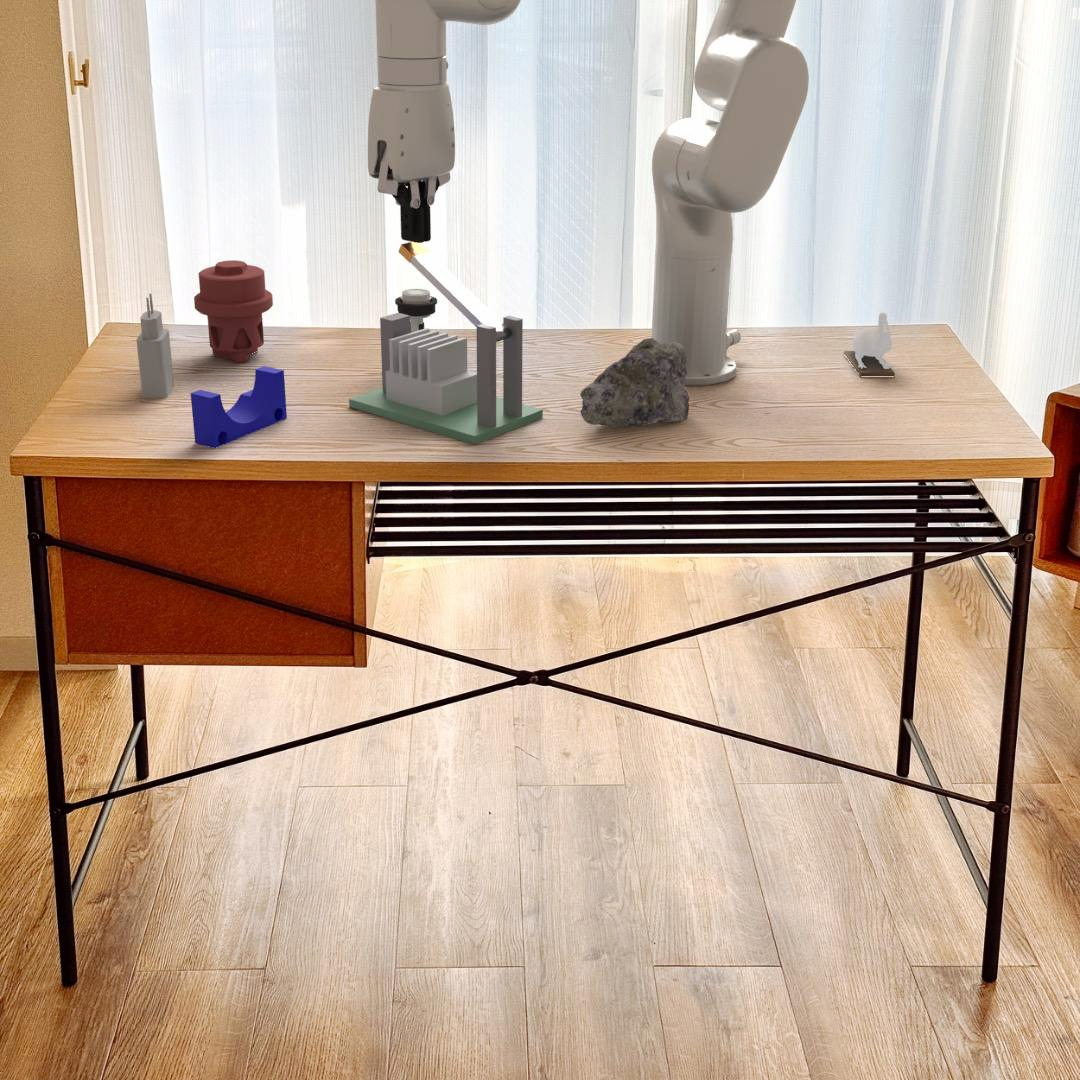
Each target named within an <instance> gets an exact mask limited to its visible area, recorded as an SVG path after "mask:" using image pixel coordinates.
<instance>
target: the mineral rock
mask: <svg viewBox="0 0 1080 1080" xmlns="http://www.w3.org/2000/svg"><path fill="white" fill-rule="evenodd" d="M686 362H687V354H686V351H685V349H684V347H683V346H682V345H681V344H679V343H676V342H671V343H665V344H660V343H658V342H657V341H655V340H654V339H653V338H652V337H651V338H649V337H648V338H644V339H642V340H641V341H640V342H638V343H637V344H634V345H633V346H632V348H631V349H630V351H629V352H627V354H626V355H625V356H624V357H622V358H620V359H619V360H618V361H615V362H613V363H611V364H610V365H609V366H608V367H606V368H605V369H604V371H603V372H601V373H600V374H599V375H598V376H597V377H596V378H595V379H594V380H593V382H592V383H588V385H587V386H585V387H584V388H583V389H582V390H581V391H580V397H581V399H582V403H581V404H582V407H581V410H580V416H581V417H582V419H583V421H585V423H587V424H589V425H593V426H594V425H595V426H596V425H597V426H598V425H599V426H602V427H603V426H606V427H618V428H628V427H638V426H639V427H640V426H643V425H644V426H645V425H649V424H656V423H664V422H672V423H673V422H682V421H684V420H687V419H688V417H689V411H690V403H689V402H690V396H689V395H690V394H689V391H688V390H687V388H686V385H685V377H686V375H687V370H686Z"/></svg>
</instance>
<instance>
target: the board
mask: <svg viewBox="0 0 1080 1080" xmlns="http://www.w3.org/2000/svg"><path fill="white" fill-rule="evenodd" d="M523 322H524V321H523V318H520V317H516V316H511V315H507V316H504V317H502V323H503V324H504V325H505V326H506V327H507V328H510V330H511V331H512V336H511V337H510V338H507V339H504V340H502V348H503V352H502V353H503V355H502V357H503V358H502V359H503V363H502V364H503V366H502V369H503V370H502V371H503V377H502V378H503V380H502V383H503V384H502V389H503V392H502V394H503V395H502V396H503V398H502V397H498V396H497V342H496V327H493V326H489V325H484V324H481V325H478V326H475V328H476V372H473V371H470V370H468V338H467V337H461V338H458V335H456V334H453V335H450V336H449V332H448V333H447V332H443V333H440V331H439V330H433V331H430V328H427V327H426V328H425V327H424V329H422V330H419V331H415V332H412V333H410V316H409V315H405V314H401V313H399V312H395V313H392V314H388V315H385V316H382V317H380V318H379V324H380V327H379V328H380V329H379V330H380V351H381V352H380V354H381V355H380V356H381V380H382V381H381V382H382V383H381V384H382V385H381V386H382V387H380V388H377V389H374V390H371V391H369V392H365V393H362V394H360V395H356V396H353V397H350V398H349V399H348V405H349V408H351V409H356V410H358V411H362V412H366V413H369V414H372V415H375V416H379V417H381V418H385V419H388V420H392V421H395V422H398V423H402V424H405V425H408V426H411V427H415V428H417V429H418V428H419V429H422V430H425V431H428V432H432V433H435V434H439V435H442V436H445V437H449V438H452V439H455V440H458V441H462V442H465V443H468V444H471V445H478V444H480V443H483V442H485V441H488V440H491V439H493V438H495V437H498V436H500V435H503V434H505V433H508V432H510V431H513V430H516V429H518V428H520V427H521V428H522V426H525V425H528V424H530V423H532V422H535V421H538V420H540V419H543V416H544V414H543V413H544V410H543V409H542V408H538V407H534V406H530V405H528V404H524V403H523V332H524V331H523V330H524V329H523Z"/></svg>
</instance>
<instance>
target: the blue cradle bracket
mask: <svg viewBox="0 0 1080 1080" xmlns="http://www.w3.org/2000/svg"><path fill="white" fill-rule="evenodd" d="M254 372H255V375H254V384H253V388H252V389H251V390H248V391H246V392H243V393H240V395H239V397H238V398H237V400H236V402H235V403H234V405H233V406H232V407H230V409H228V410H227V411H226V410H225V407H224V405H223V402H222V398H221V394H219V393H217V392H212V391H207V390H203V389H199V390H195V391H193V392H191V393H190V400H191V402H190V403H191V413H192V423H193V434H194V435H193V436H194V444H196V443H197V445H200V446H204V445H205V446H204V447H208V446H210V447H209V448H212V447H214V448H213V449H217V448H219V446H220V447H222V446H224V445H227V444H229V443H231V441H232V442H234V441H236V440H239V439H241V438H244V437H246V436H248V435H250V433H251V434H253V433H255V432H257V430H258V431H260V430H262V428H263V429H265V428H267V427H269V426H272V425H274V424H277V423H279V422H281V421H284V420H286V419H288V415H287V400H286V399H287V398H286V386H285V383H286V382H285V370H284V369H279V368H274V367H271V366H266V365H263V366H260V367H258V368H255V371H254ZM252 432H253V433H252ZM247 434H248V435H247ZM245 435H246V436H245ZM238 438H239V439H238ZM233 440H234V441H233ZM228 442H229V443H228ZM226 443H227V444H226ZM223 444H224V445H223ZM221 445H222V446H221ZM216 447H217V448H216Z"/></svg>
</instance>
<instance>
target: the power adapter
mask: <svg viewBox="0 0 1080 1080" xmlns="http://www.w3.org/2000/svg"><path fill="white" fill-rule="evenodd" d="M152 298H153V296H152V293H151V292H150V293H149V297H148V296H147V297H146V310H147V311H145V312H144V311H143V313H142V314H141V316H140V317H139V318H140V326H141V327H140V329H141V332H140V334H139V335H138V337H136V339H135V341H136V347H137V349H136V351H137V357H138V359H137V360H138V368H139V377H140V387H141V397H142V398H143V399H166V398H168V397H170V394H171V392H172V390H173V389H174V388H173V387H175V382H174V370H173V369H174V368H173V361H172V360H173V358H172V350H171V339H170V338H171V337H170V330H169V329H168V328H164V327H163V317H162V311H159V310H155V309H154V304H153V299H152Z"/></svg>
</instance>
